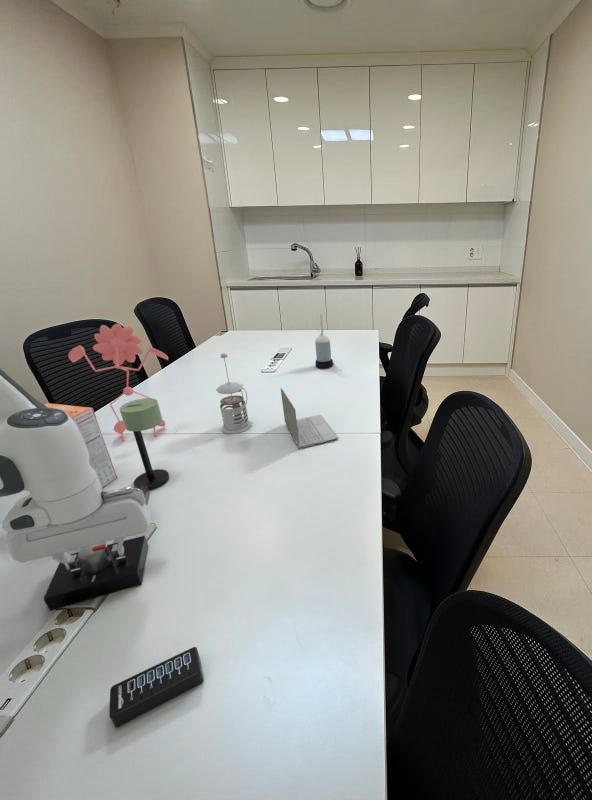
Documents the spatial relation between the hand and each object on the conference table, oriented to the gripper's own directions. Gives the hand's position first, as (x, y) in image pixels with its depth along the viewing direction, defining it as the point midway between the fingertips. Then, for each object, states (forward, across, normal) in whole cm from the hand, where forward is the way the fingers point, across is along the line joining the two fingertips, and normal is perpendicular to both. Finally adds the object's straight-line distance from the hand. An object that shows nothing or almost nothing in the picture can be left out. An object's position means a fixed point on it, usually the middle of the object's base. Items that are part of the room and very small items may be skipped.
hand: (97, 560), depth 71 cm
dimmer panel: (+4, 0, 0) cm, 4 cm away
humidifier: (+4, -70, -101) cm, 123 cm away
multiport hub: (+4, -12, +26) cm, 29 cm away
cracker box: (+4, +11, -37) cm, 39 cm away
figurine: (+4, +1, -64) cm, 64 cm away
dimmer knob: (+1, 0, 0) cm, 1 cm away
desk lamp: (+4, -5, -30) cm, 31 cm away
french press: (+4, -28, -54) cm, 61 cm away
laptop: (+4, -49, -40) cm, 63 cm away
